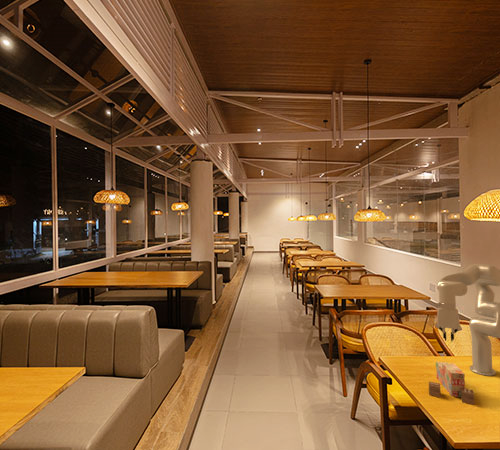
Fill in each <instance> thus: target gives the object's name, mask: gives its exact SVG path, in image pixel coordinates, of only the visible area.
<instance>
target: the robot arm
mask: <svg viewBox="0 0 500 450" xmlns="http://www.w3.org/2000/svg"><path fill="white" fill-rule="evenodd" d="M472 285H475V289H476V300H475V306H474V311H475V314H477V315H478V317H477V316H473V317H471V318H470V320H469V322H468V324H469V331H470V336H471V355H472V358H471V359H472V365H470V366H469V370H470V371H471V372H473V373H474V374H477V375H481V376H493V377H494V376H495V375H497V373H496V372H497V371H496V370H495V369H493V353H492V352H493V351H492V347H493V346H492V341H491V339H490V337H492V338H496V339H500V302H498V301H495V292H494V290H493V288H492V287H493V286H494V287H500V269H499V268H498V267H497V266H495V265H492V264H487V263H486V264H485V263H471V264H470V265H469V266H467V267H465V269H463V270H462V271H461V272H455V273H452V274H447V275H445V276H443V277H442V278H440V280H439V281H438V283H437V284H436V289H437V291H438V299H439V301H438V302H436V306H438V308H437V312H436V313H437V314H436V323H435V324H434V327H435V328H437V329H439V331H441V332H442V337H443V338H442V339H444V341H445V342H446V341H447V332H446V328H447V329H450V330H451V332H450V341H451V342H453V341H454V340H455V334H456V333H458V332H460V331H462V330H463V327H462V326H461V324H460V316H459V311H458V309H457V308H456V306H457V305H456V304H457V303H456V302H457V301H456V297H463V296H465V295H466V294H467V293H468V286H472ZM491 286H492V287H491ZM479 316H481V317H479ZM487 317H488V318H487ZM489 318H491V319H489ZM494 319H495V320H494Z"/></svg>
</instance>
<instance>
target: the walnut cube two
mask: <svg viewBox="0 0 500 450" xmlns="http://www.w3.org/2000/svg"><path fill="white" fill-rule="evenodd" d="M474 393H475V392H474V390H473V389H469V388H466V387H465V388H461V397H460V398H461V402H462V403H464V402H465V404H468V403H469V405H474V406H475V394H474Z"/></svg>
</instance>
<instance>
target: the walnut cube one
mask: <svg viewBox="0 0 500 450" xmlns="http://www.w3.org/2000/svg"><path fill="white" fill-rule="evenodd" d="M428 395H429V396H431V397H436V396H437V397H436V398H441V383H440V382H434V381H428Z"/></svg>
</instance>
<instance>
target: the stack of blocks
mask: <svg viewBox="0 0 500 450" xmlns="http://www.w3.org/2000/svg"><path fill="white" fill-rule="evenodd" d="M435 370H436V371H435V372H436V379H437V380H438V382H439V383H440V385H442V386H443V387H444V389H445V391H447V393H448V392H449V393H448V394H449V395H450V397H452V396H455V397H454V398H461V388H465V389H466V387H465V385H466V381H465V375H466V374H465V372H464V371H463V370H462V369H461V368H459V367H458V366H457V365H456V364H455V363H449V362H444V361H435Z"/></svg>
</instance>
